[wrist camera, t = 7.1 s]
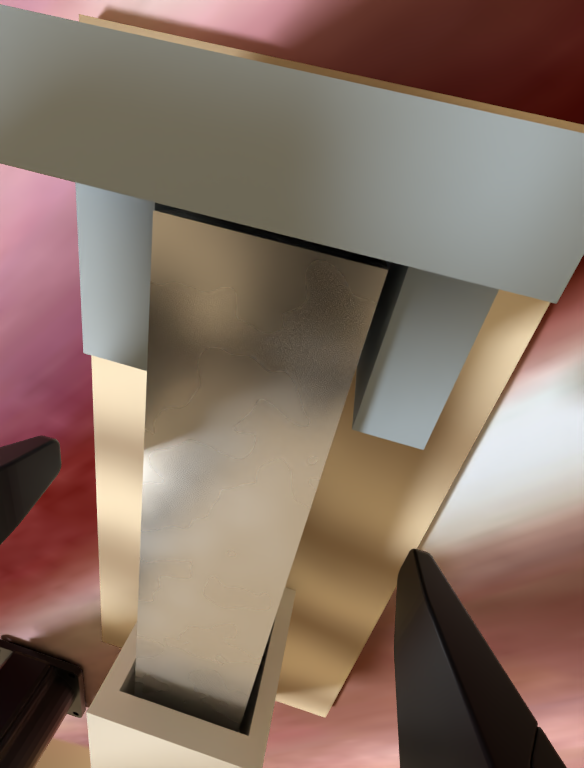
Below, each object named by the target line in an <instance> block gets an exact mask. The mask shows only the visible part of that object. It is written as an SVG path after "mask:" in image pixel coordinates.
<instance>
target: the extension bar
mask: <svg viewBox="0 0 584 768" xmlns="http://www.w3.org/2000/svg"><path fill="white" fill-rule="evenodd" d="M387 272H388V268H387V264H386V261H385V260H381V259H377V258H373V257H369V256H365V255H361V254H357V253H353V252H349V251H345V250H341V249H338V248H334V247H330V246H326V245H322V244H318V243H314V242H310V241H306V240H302V239H298V238H294V237H290V236H286V235H282V234H278V233H274V232H270V231H266V230H262V229H258V228H254V227H250V226H246V225H242V224H238V223H235V222H231V221H227V220H223V219H219V218H215V217H211V216H207V215H203V214H199V213H195V212H191V211H187V210H183V209H175V210H153V227H152V252H151V278H150V304H149V330H148V356H147V382H146V408H145V434H144V460H143V486H142V511H141V537H140V563H139V589H138V615H137V641H136V667H135V693H134V696H136V697H138V698H141V699H144V700H147V701H150V702H153V703H156V704H158V705H161V706H164V707H167V708H170V709H173V710H176V711H178V712H181V713H184V714H187V715H190V716H193V717H196V718H199V719H201V720H204V721H207V722H210V723H213V724H216V725H219V726H221V727H224V728H227V729H230V730H233V731H236V732H238V730H239V727H240V724H241V721H242V718H243V715H244V712H245V709H246V706H247V702H248V699H249V696H250V693H251V690H252V687H253V684H254V681H255V678H256V675H257V672H258V669H259V666H260V662H261V659H262V656H263V653H264V650H265V647H266V644H267V641H268V638H269V635H270V632H271V629H272V626H273V622H274V619H275V616H276V613H277V610H278V607H279V604H280V601H281V598H282V595H283V592H284V589H285V586H286V582H287V579H288V576H289V573H290V570H291V567H292V564H293V561H294V558H295V555H296V552H297V549H298V546H299V542H300V539H301V536H302V533H303V530H304V527H305V524H306V521H307V518H308V515H309V512H310V509H311V506H312V502H313V499H314V496H315V493H316V490H317V487H318V484H319V481H320V478H321V475H322V472H323V469H324V466H325V462H326V459H327V456H328V453H329V450H330V447H331V444H332V441H333V438H334V435H335V432H336V429H337V426H338V422H339V419H340V416H341V413H342V410H343V407H344V404H345V401H346V398H347V395H348V392H349V389H350V386H351V382H352V379H353V376H354V373H355V370H356V367H357V364H358V361H359V358H360V355H361V352H362V349H363V346H364V342H365V339H366V336H367V333H368V330H369V327H370V324H371V321H372V318H373V315H374V312H375V309H376V306H377V302H378V299H379V296H380V293H381V290H382V287H383V284H384V281H385V278H386V275H387Z"/></svg>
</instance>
